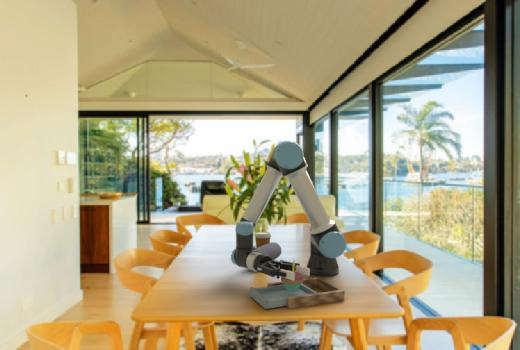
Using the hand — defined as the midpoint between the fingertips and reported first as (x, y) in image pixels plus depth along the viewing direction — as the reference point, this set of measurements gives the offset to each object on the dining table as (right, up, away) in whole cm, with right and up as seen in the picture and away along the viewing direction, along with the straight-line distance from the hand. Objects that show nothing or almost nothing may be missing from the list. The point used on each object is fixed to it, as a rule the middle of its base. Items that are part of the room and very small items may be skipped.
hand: (301, 274), depth 143 cm
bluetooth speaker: (-13, -9, +53) cm, 55 cm away
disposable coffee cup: (-14, -8, +76) cm, 78 cm away
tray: (-6, -10, +2) cm, 12 cm away
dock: (+2, -10, +6) cm, 12 cm away
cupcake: (-3, -7, +4) cm, 9 cm away
